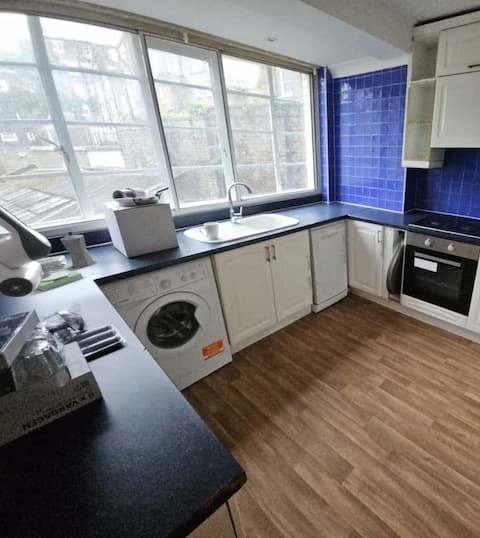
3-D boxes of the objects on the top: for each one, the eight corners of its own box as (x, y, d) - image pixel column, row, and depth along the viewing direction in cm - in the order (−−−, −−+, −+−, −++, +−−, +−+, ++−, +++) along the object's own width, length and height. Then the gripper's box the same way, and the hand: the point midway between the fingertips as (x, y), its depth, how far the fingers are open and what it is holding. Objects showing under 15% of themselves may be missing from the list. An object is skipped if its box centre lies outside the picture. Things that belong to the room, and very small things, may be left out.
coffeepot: (101, 262, 157) (87, 230, 150) (80, 269, 150) (65, 235, 142) (85, 259, 163) (71, 228, 156) (64, 265, 155) (48, 233, 148)
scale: (44, 290, 128) (41, 284, 127) (29, 285, 133) (26, 279, 132) (82, 277, 139) (80, 272, 138) (67, 273, 145) (64, 268, 144)
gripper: (61, 257, 108) (65, 248, 118) (-23, 272, 96) (-12, 261, 106) (68, 272, 110) (71, 262, 120) (-13, 289, 98) (-3, 277, 108)
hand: (32, 262), depth 113 cm, fingers closed on can, 7 cm apart
